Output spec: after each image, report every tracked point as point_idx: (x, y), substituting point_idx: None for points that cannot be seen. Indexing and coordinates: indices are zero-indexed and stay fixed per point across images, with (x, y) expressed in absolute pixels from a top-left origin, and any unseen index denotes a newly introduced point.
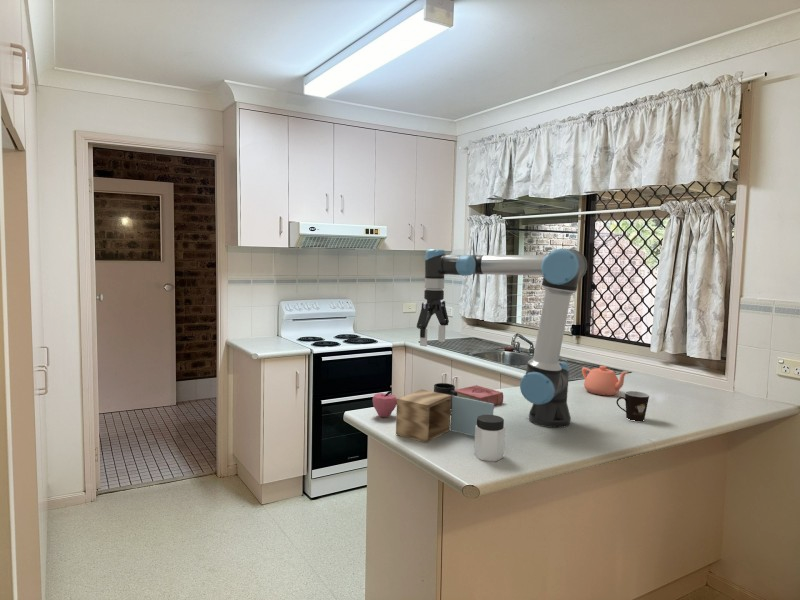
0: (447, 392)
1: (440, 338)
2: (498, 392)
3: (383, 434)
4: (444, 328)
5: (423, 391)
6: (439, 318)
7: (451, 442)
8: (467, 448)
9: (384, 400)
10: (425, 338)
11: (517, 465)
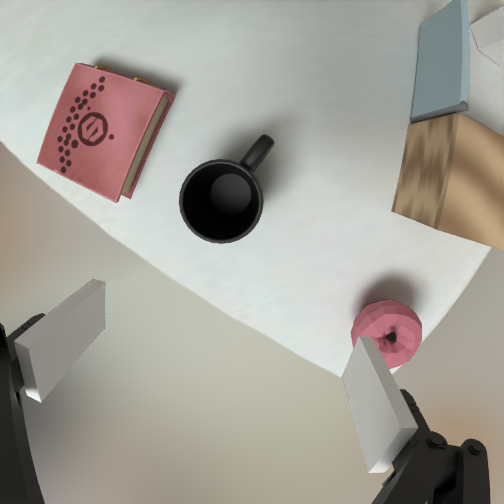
0: (255, 176)
1: (94, 322)
2: (79, 72)
3: (480, 261)
4: (43, 333)
5: (457, 216)
6: (25, 449)
7: (471, 110)
8: (481, 76)
9: (421, 326)
10: (387, 378)
11: (490, 2)
